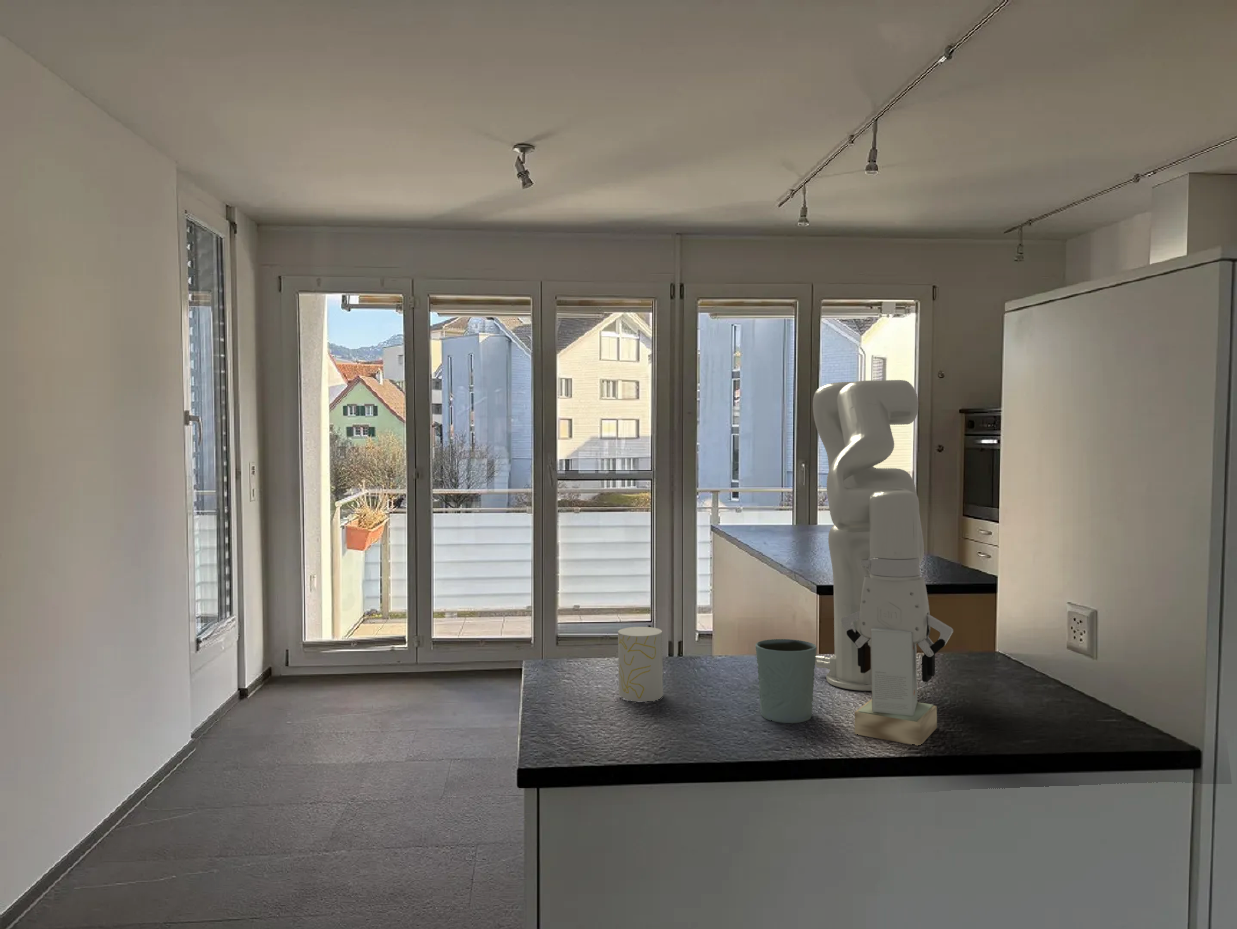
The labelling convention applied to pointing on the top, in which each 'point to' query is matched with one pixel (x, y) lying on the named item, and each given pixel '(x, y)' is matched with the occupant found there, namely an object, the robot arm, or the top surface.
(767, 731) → the top surface
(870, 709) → the plinth
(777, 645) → the green tumbler
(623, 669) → the cream patterned cylinder
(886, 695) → the small box
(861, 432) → the robot arm
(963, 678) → the top surface
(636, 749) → the top surface
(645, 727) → the top surface
